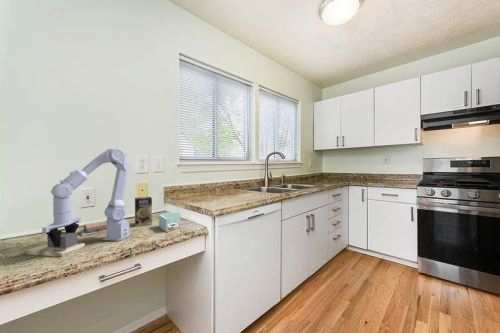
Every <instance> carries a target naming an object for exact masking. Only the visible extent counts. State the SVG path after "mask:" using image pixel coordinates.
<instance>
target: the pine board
mask: <svg viewBox="0 0 500 333" xmlns="http://www.w3.org/2000/svg"><path fill="white" fill-rule="evenodd" d="M77 243H78V246H76V247H73V248H71V249H68V250H54V249H48V241H47V242H44V243H42V244H39V245H36V246H33V247H31V248H28V249H24V250H23V253H24V255H32V256H44V257H45V256H47V257H57V258H58V257H59V258H63V257H65V256H68V255H70V254H72V253H74V252H77V251H78V250H81V249H83V248H85V247H86V246H85V243H82V242H81V243H80V242H77Z"/></svg>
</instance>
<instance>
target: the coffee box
mask: <svg viewBox="0 0 500 333" xmlns="http://www.w3.org/2000/svg"><path fill="white" fill-rule="evenodd" d="M152 225H153V197H151V196H144V197H141V196H140V197H135V198H134V228H135V227H137V228H138V227H144V226H145V227H146V226H152Z"/></svg>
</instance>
